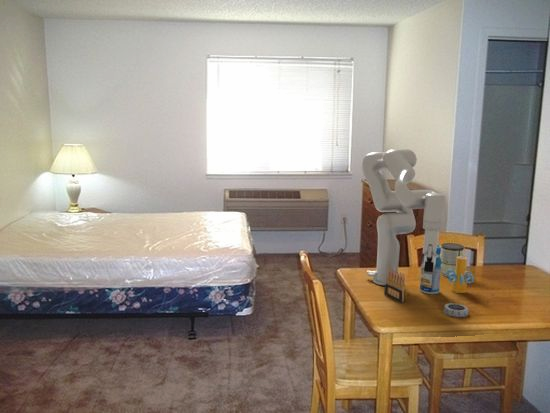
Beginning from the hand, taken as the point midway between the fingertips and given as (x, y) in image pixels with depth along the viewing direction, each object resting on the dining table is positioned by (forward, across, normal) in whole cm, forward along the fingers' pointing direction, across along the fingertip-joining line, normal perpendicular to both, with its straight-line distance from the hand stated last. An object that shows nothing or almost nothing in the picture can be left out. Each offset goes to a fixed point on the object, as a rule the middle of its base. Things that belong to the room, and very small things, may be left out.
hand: (428, 269), depth 202 cm
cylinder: (+15, -22, +12) cm, 29 cm away
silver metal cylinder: (+1, 0, 0) cm, 1 cm away
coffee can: (+15, -46, +8) cm, 49 cm away
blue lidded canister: (+15, -16, 0) cm, 22 cm away
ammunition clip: (+15, -2, -13) cm, 20 cm away
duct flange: (+14, +6, +11) cm, 19 cm away
